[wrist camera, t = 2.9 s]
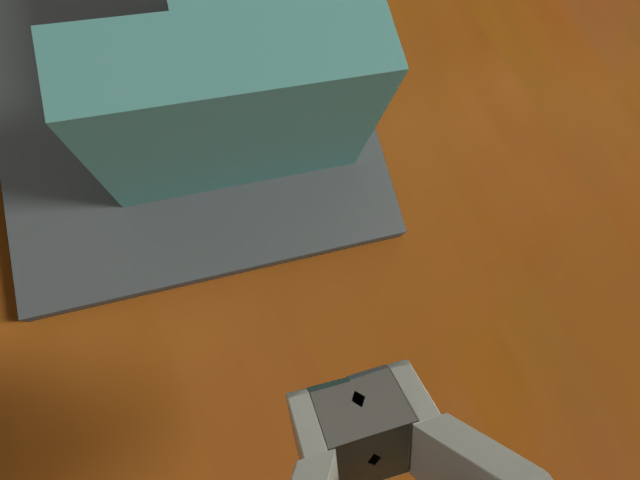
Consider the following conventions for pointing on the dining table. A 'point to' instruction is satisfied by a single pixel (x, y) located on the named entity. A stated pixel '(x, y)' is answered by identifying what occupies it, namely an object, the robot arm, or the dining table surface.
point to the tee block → (218, 91)
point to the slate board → (158, 216)
